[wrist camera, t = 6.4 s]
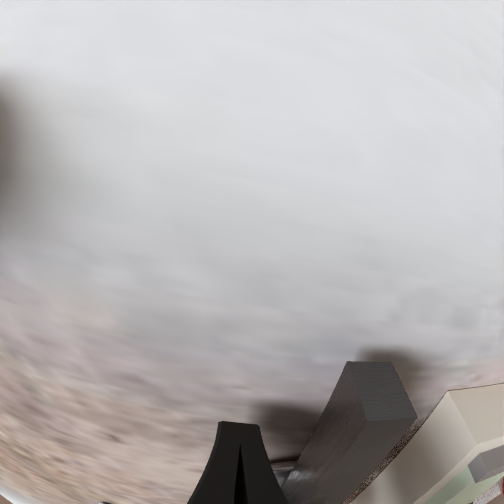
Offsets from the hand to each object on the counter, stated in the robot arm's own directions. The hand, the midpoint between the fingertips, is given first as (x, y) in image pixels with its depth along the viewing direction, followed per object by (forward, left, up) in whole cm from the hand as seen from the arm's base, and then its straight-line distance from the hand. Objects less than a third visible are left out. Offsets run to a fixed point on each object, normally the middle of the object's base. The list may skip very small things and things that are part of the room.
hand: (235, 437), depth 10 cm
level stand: (-8, -13, -2) cm, 16 cm away
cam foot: (-3, -7, -1) cm, 8 cm away
